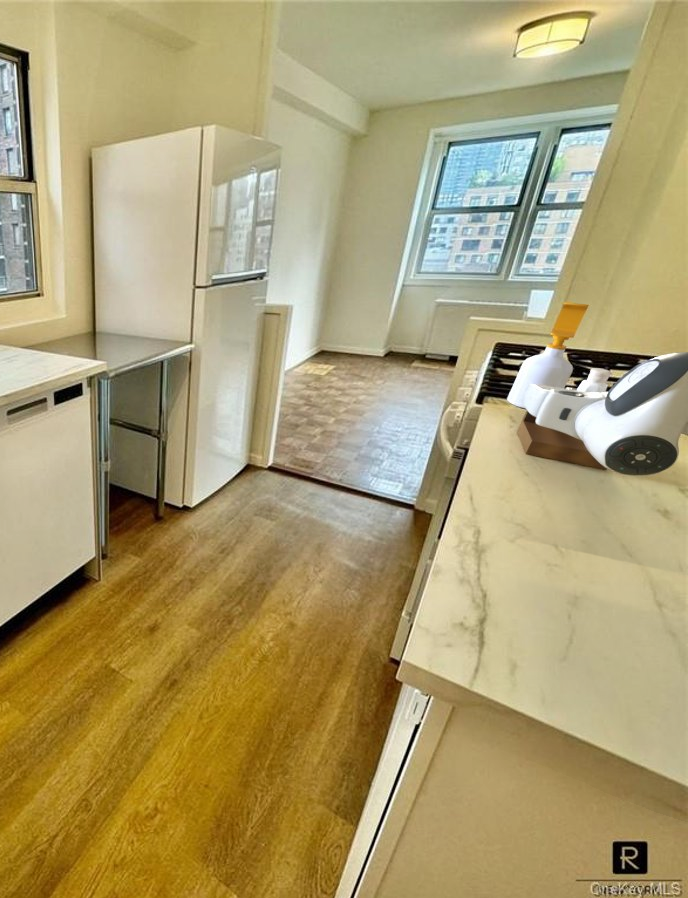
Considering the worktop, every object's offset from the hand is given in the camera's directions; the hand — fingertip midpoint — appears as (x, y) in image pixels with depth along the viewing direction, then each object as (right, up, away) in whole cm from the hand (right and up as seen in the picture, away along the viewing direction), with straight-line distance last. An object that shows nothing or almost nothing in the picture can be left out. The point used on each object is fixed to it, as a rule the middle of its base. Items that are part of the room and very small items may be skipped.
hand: (586, 394), depth 92 cm
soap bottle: (+13, 0, +27) cm, 30 cm away
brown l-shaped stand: (0, -11, +6) cm, 12 cm away
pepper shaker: (0, -6, +2) cm, 6 cm away
